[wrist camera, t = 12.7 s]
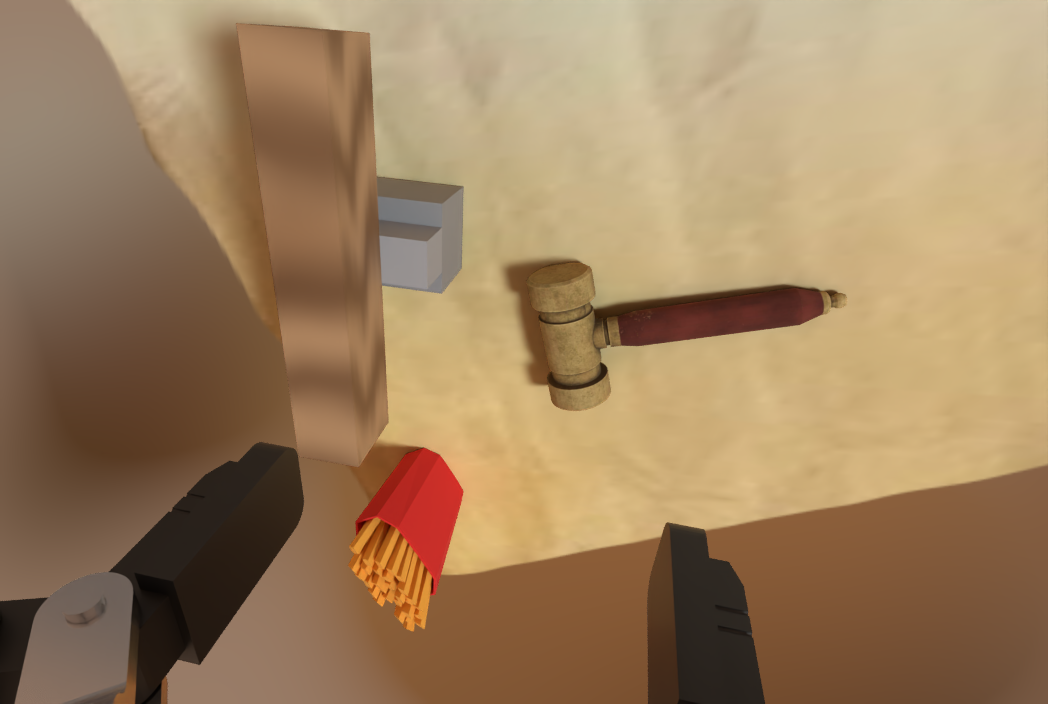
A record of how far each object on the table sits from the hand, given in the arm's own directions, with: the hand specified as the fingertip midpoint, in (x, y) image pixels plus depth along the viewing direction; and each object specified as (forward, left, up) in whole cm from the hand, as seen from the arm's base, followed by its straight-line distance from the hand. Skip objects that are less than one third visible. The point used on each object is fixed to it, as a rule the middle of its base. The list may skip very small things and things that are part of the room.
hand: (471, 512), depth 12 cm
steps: (+3, -13, -31) cm, 33 cm away
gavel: (+8, +8, -31) cm, 33 cm away
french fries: (+27, -10, -31) cm, 42 cm away
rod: (+3, -13, -23) cm, 26 cm away
